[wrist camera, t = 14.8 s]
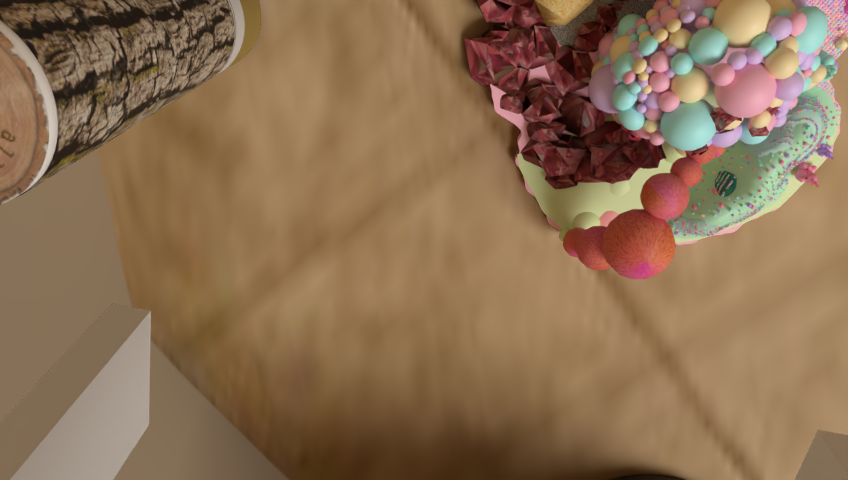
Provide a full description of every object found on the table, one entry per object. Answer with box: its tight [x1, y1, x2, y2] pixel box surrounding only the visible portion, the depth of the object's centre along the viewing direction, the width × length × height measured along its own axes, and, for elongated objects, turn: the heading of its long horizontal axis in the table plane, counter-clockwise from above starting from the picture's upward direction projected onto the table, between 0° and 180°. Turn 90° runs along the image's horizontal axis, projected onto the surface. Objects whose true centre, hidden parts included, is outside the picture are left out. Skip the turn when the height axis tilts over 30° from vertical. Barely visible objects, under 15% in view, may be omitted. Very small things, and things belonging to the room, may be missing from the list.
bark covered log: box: [0, 0, 261, 205], centre depth 35 cm, size 7×7×25 cm
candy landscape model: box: [464, 0, 848, 279], centre depth 41 cm, size 25×24×9 cm
